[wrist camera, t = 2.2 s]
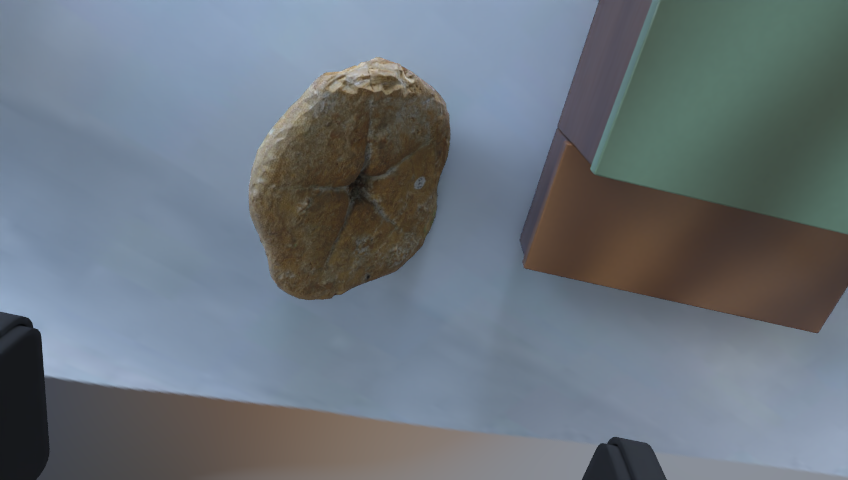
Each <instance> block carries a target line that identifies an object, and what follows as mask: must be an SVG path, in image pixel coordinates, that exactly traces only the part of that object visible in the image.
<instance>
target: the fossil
mask: <svg viewBox="0 0 848 480" xmlns="http://www.w3.org/2000/svg"><path fill="white" fill-rule="evenodd" d="M449 146H450V124H449V113H448V111H447V109H446V103H445V102H444V100H443V98H442V97H441V96H440V95H439V93H438V92H437V91H436V90H435V89H434V88H433V87H432V86H430V85H429V84H427V83H426V82H424V81H423V80H421V79H420V78H419V77H418V76H416V75H415V74H414V73H413V72H411V71H409V70H408V69H406V68H404V67H402V66H401V65H400V64H398V63H394V62H391V61H388V60H385V59H383V58H380V57H376V58H374V59H372V60H370V61H367V62H361V63H360V64H359V65H358V66H352V67H350V68H347V69H345V70H343V71H341V72H326V73H324V74H323V75H321V76H320V77H318V78H317V79H316V80H315V81H314V82H313V83H312V84H311V85H310V86H309V88H308V89H307V90H306V91H305V92H304V93H303V95H302V96H301V97H300V98H299V99H298V100H297V101H296V102H295V103H294V104H293V105H292V106H291V107H289V109H288V110H287V111H286V113H285V114H284V115H283V116H282V117H281V118H280V119H279V120H278V122H277V123H276V124H275V125H274V126H273V128H272V129H271V130H270V131H269V133H268V134H267V136H266V137H265V139H264V141H263V142H262V144H261V146H260V147H259V149H258V150H257V154H256V157H255V161H254V164H253V167H252V170H251V177H250V183H249V211H250V216H251V218H252V221H253V223H254V226H255V228H256V230H257V232H258V234H259V236H260V241H261V243H262V244H263V246H264V249H265V252H266V255H267V258H268V264H269V271H270V274H271V277H272V279H273V280H274V282H275V283H276V284H277V286H278V287H279V288H280V289H282V290H283V291H285V292H286V293H288V294H290V295H292V296H294V297H296V298H299V299H305V300H315V299H322V300H324V299H330V298H332V297H333V296H334V295H341V294H343V293H345V292H347V291H348V290H350V289H352V288H354V287H356V286H358V285H361V284H363V283H366V282H369V281H372V280H375V279H377V278H380V277H382V276H385V275H388V274H391V273H393V272H395V271H397V270H398V269H399V268H400V267H402V266H403V265H404V264H405V263H406V262H407V261H408V260H409V259H410V258H411V257H412V256H413V255H414V254H415V253H416V252H417V251H418V250H419V249H420V248H421V246H422V245H423V243H424V240H425V238H426V236H427V234H428V233H429V231H430V229H431V226H432V224H433V221H434V218H435V215H436V210H437V202H436V201H437V196H438V195H437V186H438V182H439V178H440V175H441V172H442V170H443V168H444V165H445V163H446V160H447V157H448V151H449Z"/></svg>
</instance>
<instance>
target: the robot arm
mask: <svg viewBox="0 0 848 480" xmlns="http://www.w3.org/2000/svg"><path fill="white" fill-rule="evenodd" d="M48 457H49V436H48V422H47V410H46V395H45V381H44V367H43V354H42V340H41V334H40V332H39V330H38V329H35V328H33V324H32V322H31V320H30V319H29V318H26V317H23V316H18V315H13V314H8V313H3V312H0V480H36V479H37V478H38V477H39V475H40V474H41V472H42V471H43V469H44V468H45V466H46V463H47V461H48ZM582 480H667V479H666V477H665V475H664V473H663V471H662V468H661V466H660V464H659V462H658V460H657V458H656V455H655V453H654V451H653V449H652V448H651V446H650V445H648V444H647V443H643V442H638V441H633V440H629V439H624V438H619V437H613V438H611V439H610V440H609V441H608V443H607V444H604V443H601V444H600V445H599V446H598V447H597V449H596V451H595V453H594V455H593V458H592V459H591V461H590V464H589V466H588V468H587V470H586V472H585V474H584V476H583V479H582Z"/></svg>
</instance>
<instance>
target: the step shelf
mask: <svg viewBox="0 0 848 480" xmlns="http://www.w3.org/2000/svg"><path fill="white" fill-rule="evenodd" d="M520 243H521V247H522V250H523V253H524V258H523V261H522V263H523V267H524V268H525V269H530V270H534V271H539V272H543V273H548V274H552V275H557V276H561V277H566V278H570V279H575V280H579V281H584V282H588V283H593V284H597V285H602V286H606V287H611V288H615V289H620V290H624V291H629V292H633V293H638V294H642V295H647V296H651V297H656V298H660V299H665V300H669V301H674V302H678V303H683V304H687V305H692V306H696V307H701V308H705V309H710V310H715V311H719V312H724V313H728V314H733V315H737V316H742V317H746V318H751V319H755V320H760V321H764V322H769V323H773V324H778V325H782V326H787V327H791V328H796V329H800V330H805V331H809V332H814V333H819V331H820V329H821V328H822V326H823V325H824V323H825V321H826V320H827V318H828V317H829V315H830V314H831V312H832V310H833V309H834V307H835V306H836V304H837V302H838V301H839V299H840V298H841V296H842V295H843V293H844V291H845V290H846V288H847V287H848V0H599V3H598V6H597V9H596V12H595V15H594V18H593V21H592V24H591V27H590V30H589V33H588V36H587V39H586V42H585V45H584V48H583V51H582V54H581V57H580V60H579V63H578V66H577V69H576V72H575V75H574V78H573V81H572V84H571V87H570V90H569V93H568V96H567V99H566V102H565V105H564V108H563V111H562V114H561V117H560V120H559V123H558V128H557V129H556V132H555V135H554V138H553V141H552V144H551V147H550V150H549V153H548V156H547V159H546V162H545V165H544V168H543V171H542V174H541V177H540V180H539V183H538V186H537V189H536V192H535V195H534V198H533V201H532V204H531V207H530V210H529V213H528V216H527V219H526V222H525V225H524V228H523V231H522V234H521V237H520Z"/></svg>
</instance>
